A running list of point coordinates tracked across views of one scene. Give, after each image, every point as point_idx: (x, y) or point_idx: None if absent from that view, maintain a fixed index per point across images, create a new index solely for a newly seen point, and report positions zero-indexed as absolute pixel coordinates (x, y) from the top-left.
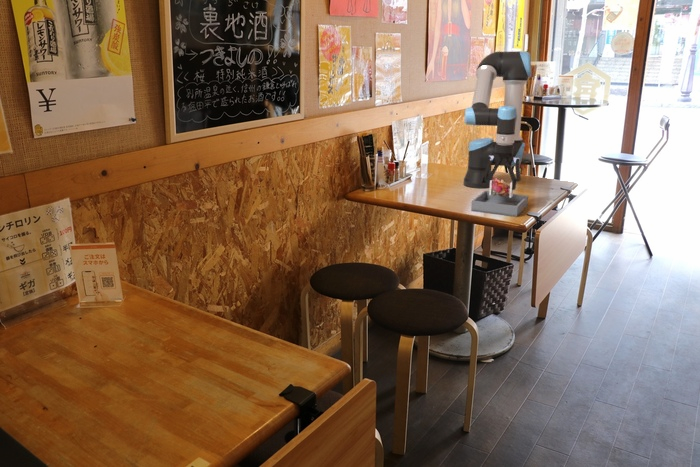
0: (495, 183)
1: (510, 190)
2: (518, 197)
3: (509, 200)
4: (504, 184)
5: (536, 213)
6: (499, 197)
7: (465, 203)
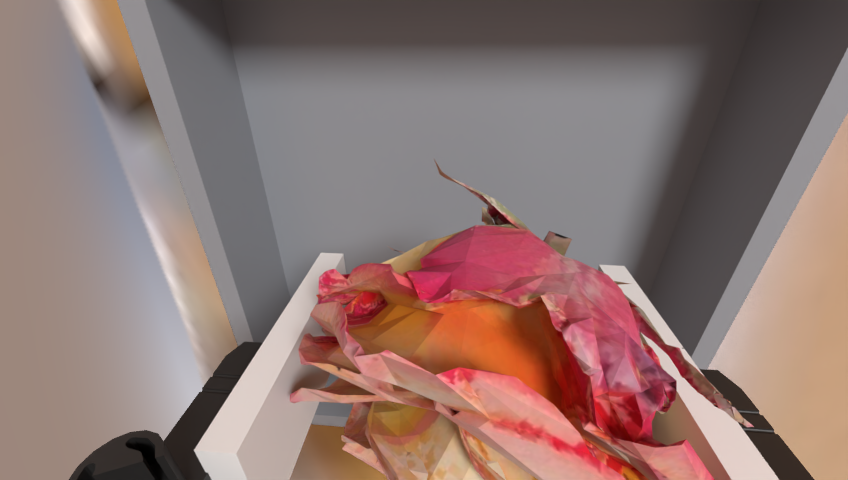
0: (615, 359)
1: (297, 318)
2: None
3: None
4: (338, 341)
5: (142, 193)
6: None
7: (817, 241)
